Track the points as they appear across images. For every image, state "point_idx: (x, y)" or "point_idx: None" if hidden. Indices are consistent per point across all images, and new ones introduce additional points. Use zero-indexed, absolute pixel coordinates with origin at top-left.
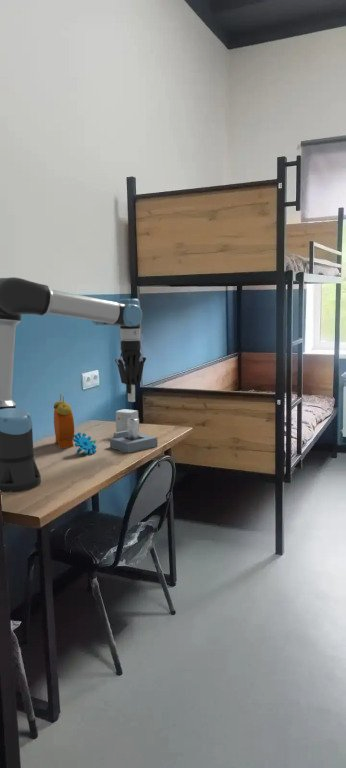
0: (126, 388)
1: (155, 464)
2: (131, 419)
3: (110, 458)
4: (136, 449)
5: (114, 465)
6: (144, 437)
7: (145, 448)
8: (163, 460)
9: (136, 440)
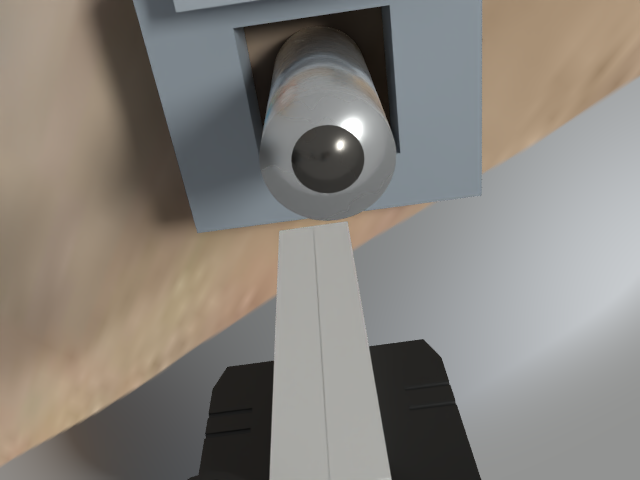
0: (205, 458)
1: None
2: (299, 176)
3: (62, 245)
4: None
5: (50, 364)
6: (402, 137)
7: None
8: None
9: None
